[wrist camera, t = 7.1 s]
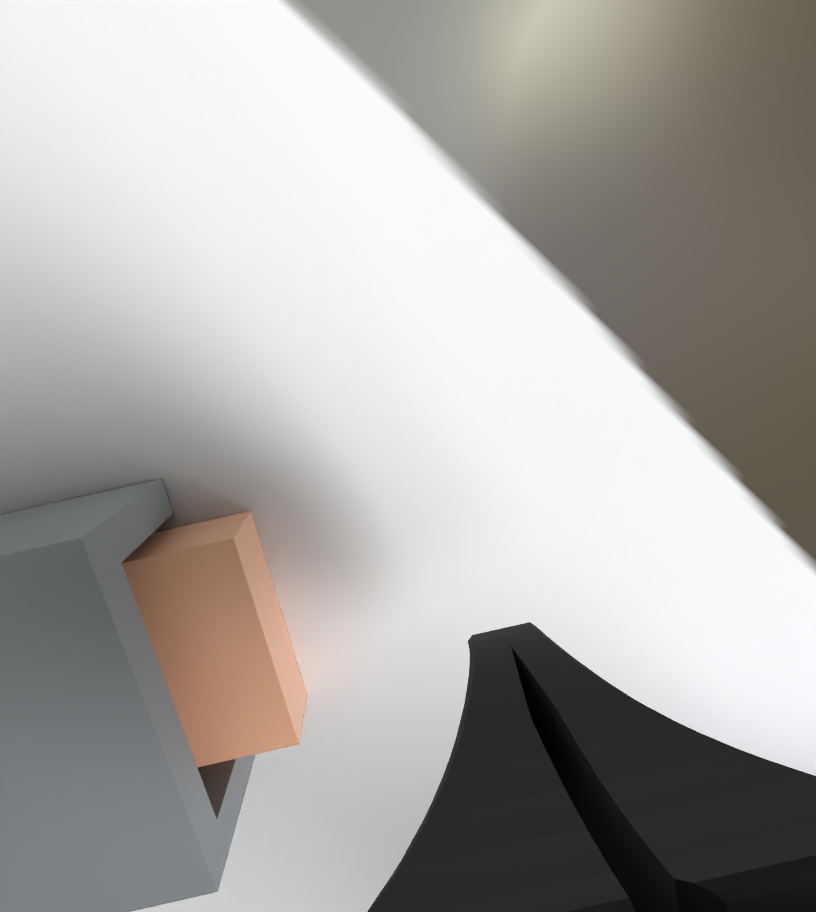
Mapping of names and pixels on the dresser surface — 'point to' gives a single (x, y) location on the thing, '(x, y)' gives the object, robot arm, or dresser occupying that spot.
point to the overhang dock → (96, 723)
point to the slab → (219, 637)
